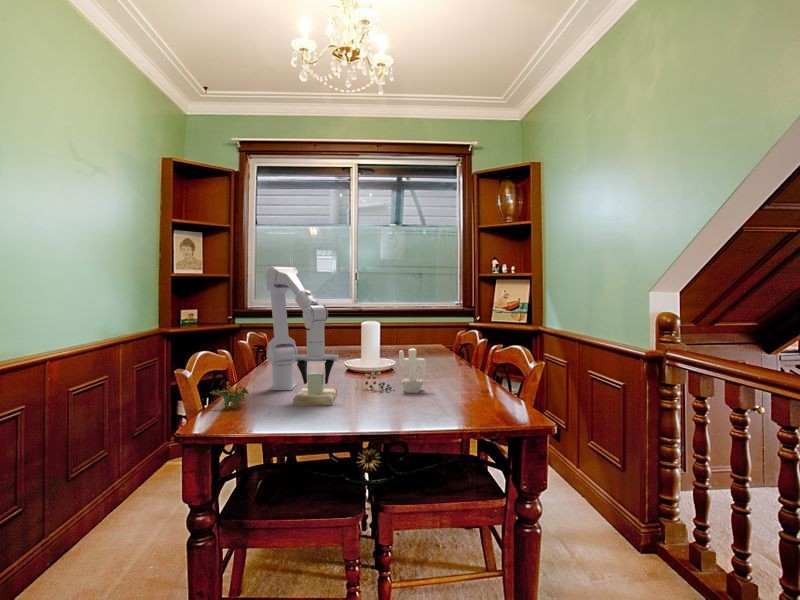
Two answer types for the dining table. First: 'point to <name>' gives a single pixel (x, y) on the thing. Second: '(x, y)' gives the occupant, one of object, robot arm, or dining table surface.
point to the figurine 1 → (231, 395)
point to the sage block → (315, 383)
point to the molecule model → (377, 383)
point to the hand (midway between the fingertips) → (316, 383)
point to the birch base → (315, 397)
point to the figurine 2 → (412, 370)
